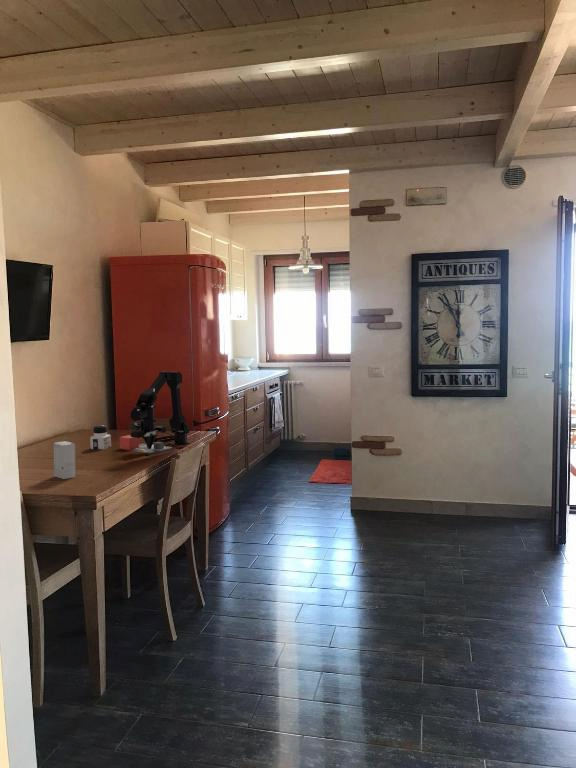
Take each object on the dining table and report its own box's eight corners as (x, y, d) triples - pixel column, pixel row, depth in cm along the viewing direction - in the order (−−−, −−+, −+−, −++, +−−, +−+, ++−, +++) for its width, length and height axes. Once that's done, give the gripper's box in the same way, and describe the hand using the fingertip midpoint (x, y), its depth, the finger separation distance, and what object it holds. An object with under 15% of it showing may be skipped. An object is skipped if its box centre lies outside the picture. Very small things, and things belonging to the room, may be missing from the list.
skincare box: (53, 476, 268) (51, 442, 266) (66, 474, 272) (64, 440, 271) (64, 479, 262) (62, 444, 261) (77, 476, 267) (75, 442, 265)
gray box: (158, 447, 318) (157, 441, 318) (163, 448, 316) (163, 442, 316) (153, 448, 316) (153, 442, 315) (159, 449, 313) (159, 443, 313)
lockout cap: (129, 446, 324) (129, 435, 324) (138, 447, 320) (138, 436, 319) (120, 448, 319) (119, 437, 318) (129, 450, 315) (129, 438, 314)
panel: (143, 446, 332) (143, 442, 332) (172, 450, 319) (172, 446, 319) (119, 451, 319) (119, 447, 319) (149, 456, 306) (149, 452, 306)
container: (104, 452, 318) (103, 427, 317) (90, 451, 320) (89, 426, 318) (111, 449, 326) (110, 424, 324) (97, 448, 327) (96, 424, 326)
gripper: (150, 414, 321) (152, 444, 323) (122, 419, 306) (123, 450, 308) (166, 415, 315) (167, 446, 317) (137, 421, 300) (139, 452, 301)
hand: (149, 448), depth 311 cm, fingers closed
